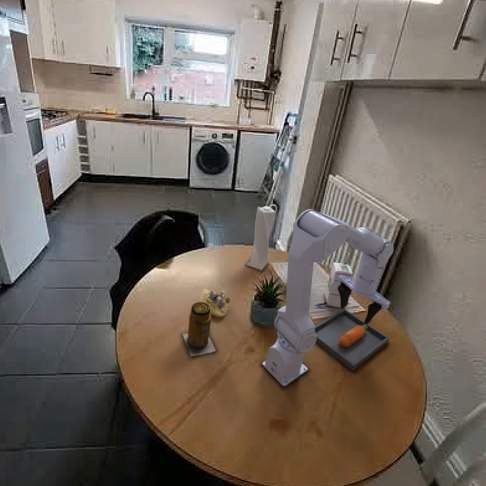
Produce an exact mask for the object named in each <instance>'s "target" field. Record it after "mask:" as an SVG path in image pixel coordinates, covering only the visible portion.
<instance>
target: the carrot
mask: <svg viewBox="0 0 486 486" xmlns="http://www.w3.org/2000/svg"><path fill="white" fill-rule="evenodd" d="M367 329H368V327H367V325H362V326H356V327H354V328H353V329H351V330H350V331H348V332H347V333H345V334H344V335H342V336H341V337H340V338H339V343H340V345H341V346H343V347H348V346H350V345H351V344H353V343H354V342H355V341H357V340H358V339H360V338H361V337H362V336H364V335H365V331H366V330H367Z"/></svg>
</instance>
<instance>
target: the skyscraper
mask: <svg viewBox="0 0 486 486" xmlns="http://www.w3.org/2000/svg"><path fill="white" fill-rule="evenodd" d="M272 206H274V207H275V210H274V209H273V208H272ZM277 211H278V207H277V205H276V204H274V203H272V204H270V205H269V206H267V205H265V206H263V207H260V206H257V209H256V214H255V220H254V221H255V222H254V241H253V245H252V250H251V255H250V260H249V261H248V262H247V263H246V264H245V266H246V267H249V268H252V269H254V270H257V271H260V272H262V271H263V270H264V269H265V268H266V267H267V266H268V264H269V262H268V257H269V250H270V249H269V248H270V247H269V244H270V242H269V241H270V240H269V238H270V236H271V234H272V232H273V228H274V225H275V220H276V214H277Z"/></svg>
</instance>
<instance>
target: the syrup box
mask: <svg viewBox="0 0 486 486" xmlns="http://www.w3.org/2000/svg"><path fill="white" fill-rule="evenodd" d="M341 275H344V276H346V277H348V278H351V279H353V270H352V268H351V265H350V264H347V263H341V262H333V263H332V267H331V269H330V274H329V279H328V282H327V286H326V290H325V294H324V298H325V301H326V305H327V306H330V307H333V308H339V309H342V308H341V300H340V294H339V291H338V286H339V285H340V283H338V282H337V281H338V278H339V276H341Z"/></svg>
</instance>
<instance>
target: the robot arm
mask: <svg viewBox="0 0 486 486" xmlns="http://www.w3.org/2000/svg"><path fill="white" fill-rule="evenodd" d="M374 231H375V230H374V229H373V228H371V227H369V226H365V227H362V226H361V227H360V226H359V227H354V226H352V225H351V224H349V223H347V222H345V221H343V220H342V219H339V218H337V217H335V216H332V215H329V214H328V213H327V214H326V213H324V212H321V211H318V212H317V211H316V210H315V209H312V208H308V209H306V210H304V211H303V212H301V213H300V214H299V216H298V217H297V218H296V219H295V220H294V221H293V225H292V241H291V245H290V247H289V250H288V257H287V260H288V261H287V273H286V274H287V276H286V292H285V293H286V294H285V295H286V296H285V297H286V298H285V305H284V306H282V307H280V308H279V309H278V310H277V314H276V317H275V318H274V319H275V320H274V323H273V326H274V328H275V329H276V330H277V332H276V335H277V339H276V341H275V343H274V344H272V345H271V346H269V348H268V349H267V351H266V358H265V360H264V361H263V362H262V366H263V367H264V368H265V370H267V371H268V373H270V374H271V375H272V376H273V377H274V378H275V379H276V381H277V382H278V383H279V384H280V385H281V386H283V387H286V386H287V385H289V384H290V383H291V382H293V381H294V380H296V379H297V378H299V377H300V376H302V375H303V374H305V373H306V372H307V371H308V370H309V369H308V367H307V366H306V365H305V364H304V363H303V362H304V357H305V354H306V353H308V352H309V351H310V350H312V349H313V347H315V345H316V343H317V342H316V340H317V334H316V333H315V326H316V325H315V323H314V322H313V320H312V318H311V317H310V305H311V304H310V303H311V293H312V283H313V273H314V266H315V265H314V264H315V263H322V262H324V261H325V260H326V259H327V258H329V257H330V256H331V255H333V254H334V253H335V252H336V251H337V250H339V249H340V248H341V247H342V246H343V245H345V243H346V241H348V243H349V245H350V246H351V248H353V249H355V250H357V251H359V252H361V256H360V259H359V261H358V262H359V263H358V264H357V265H358V266H357V270H356V272H355V275H354V279H353V278H348V277H346V276H344V275H341V276H339V278H338V281H337V282H338V283H340V285H339V286H338V291H339V294H340V300H341V308H340V309H341V310H343V309H345V308H346V307H347V305H348V303H349V300H350V296H351V294H352V292H353V293H354V294H355V295H357V296H359V297H362V298H364V299H366V300H367V299H368V300H369V301H370V302H372V303H370V304H368V305H367V312H366V317H365V318H364V323H365V324H368V325H369V324H370V323H371V322H372V320H373V319H374V317H375V316H376V315H377V314H378V313H379V312H380V311H382V310H383V311H386V310H388V309H389V307H390V305H391V301H390V300H388V299H387V298H385V297H384V296H382V295H381V294H380V292H378V291H376V289H377V286H378V283H379V279H380V277H381V273H382V271H383V268H384V267H385V266H386V265H387V263H388V261H389V259H390V258H391V256H392V255H393V254H394V250H395V249H394V248H395V247H394V245H393V243H392V242H391V241H390V240H389V239H386V238H384V237H382V234H381V233H379V232H374Z"/></svg>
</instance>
